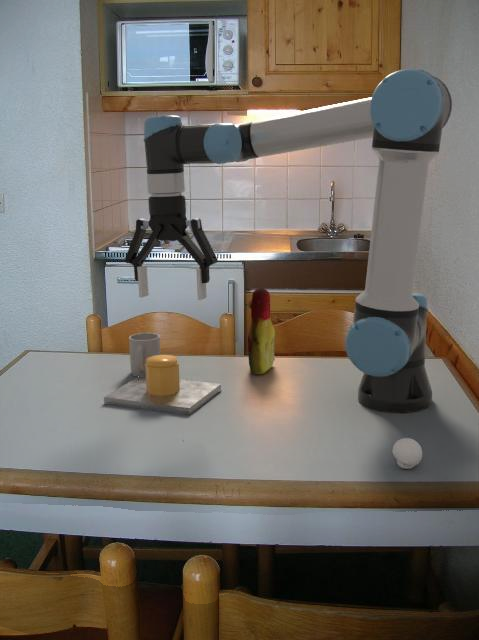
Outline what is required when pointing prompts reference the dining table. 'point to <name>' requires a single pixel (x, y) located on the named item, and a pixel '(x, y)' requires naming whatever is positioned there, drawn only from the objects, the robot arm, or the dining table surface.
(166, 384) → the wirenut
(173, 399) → the plate
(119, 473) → the dining table surface
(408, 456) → the mushroom
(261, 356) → the bottle
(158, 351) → the cup
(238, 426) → the dining table surface
